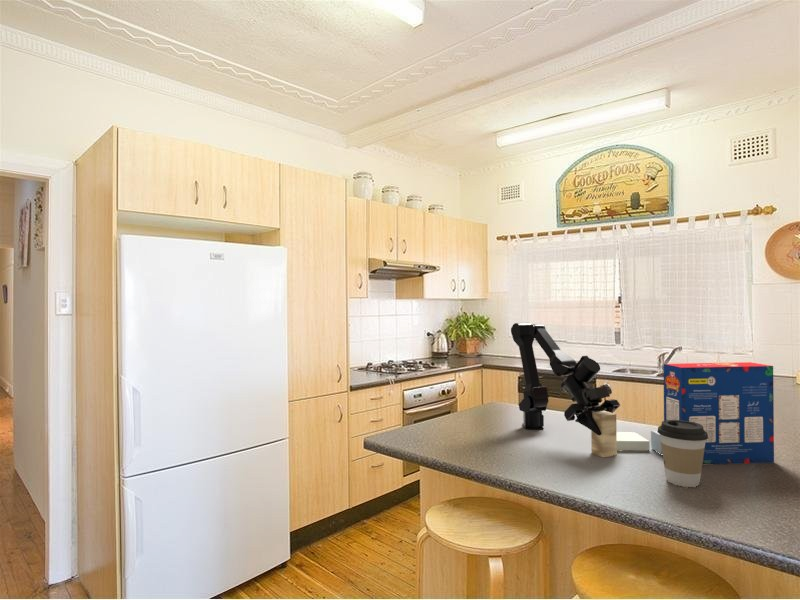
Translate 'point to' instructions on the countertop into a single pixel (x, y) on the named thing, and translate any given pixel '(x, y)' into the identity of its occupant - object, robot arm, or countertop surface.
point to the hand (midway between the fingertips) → (607, 433)
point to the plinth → (631, 441)
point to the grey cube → (656, 441)
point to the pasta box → (725, 408)
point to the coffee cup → (682, 451)
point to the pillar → (604, 434)
